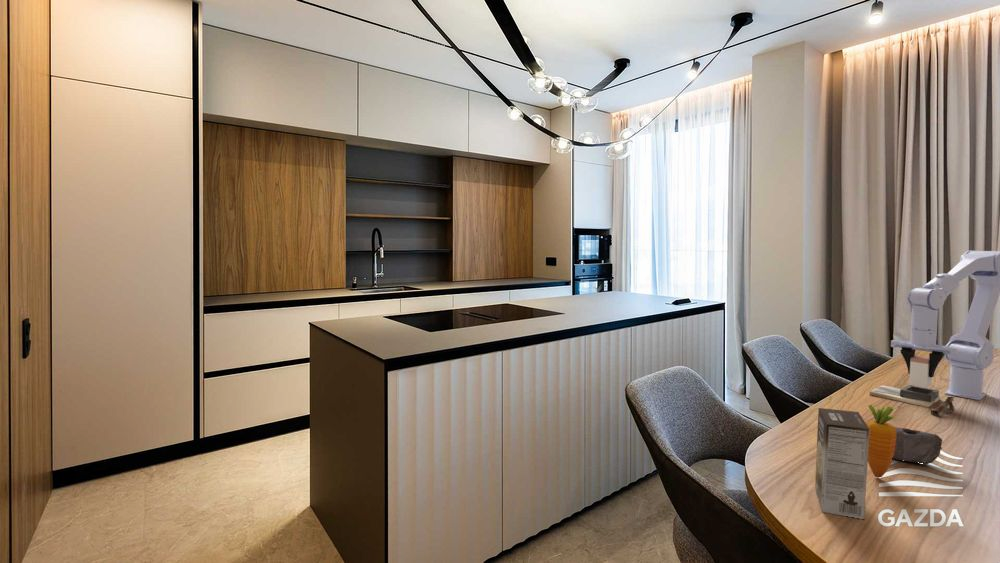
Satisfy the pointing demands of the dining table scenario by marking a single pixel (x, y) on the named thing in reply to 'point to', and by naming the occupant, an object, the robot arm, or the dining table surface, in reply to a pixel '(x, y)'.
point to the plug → (920, 372)
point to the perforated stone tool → (916, 446)
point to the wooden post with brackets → (944, 405)
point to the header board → (908, 394)
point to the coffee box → (841, 462)
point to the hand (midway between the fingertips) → (920, 375)
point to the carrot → (881, 441)
